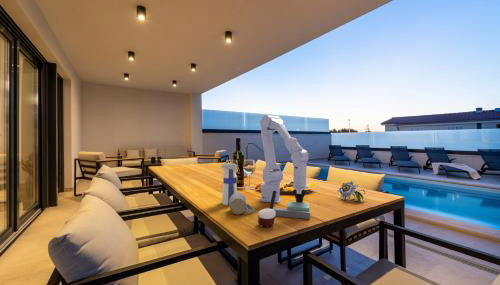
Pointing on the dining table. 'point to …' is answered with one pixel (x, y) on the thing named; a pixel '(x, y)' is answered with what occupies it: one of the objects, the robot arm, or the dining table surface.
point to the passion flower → (350, 191)
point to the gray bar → (292, 213)
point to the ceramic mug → (239, 204)
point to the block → (298, 206)
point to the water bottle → (229, 182)
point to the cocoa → (267, 214)
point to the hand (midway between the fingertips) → (299, 205)
